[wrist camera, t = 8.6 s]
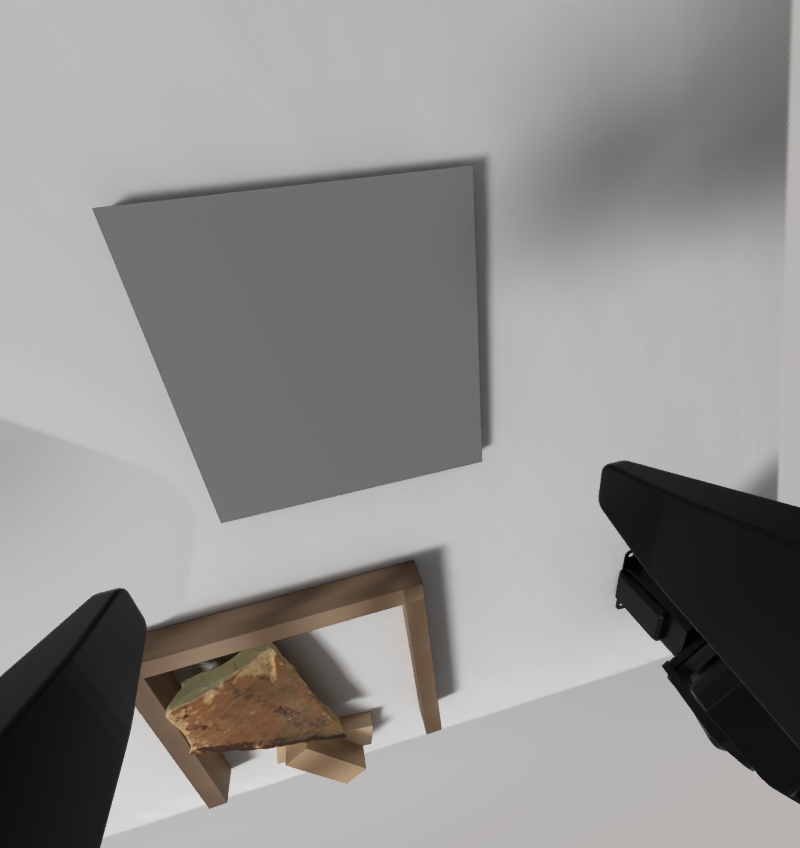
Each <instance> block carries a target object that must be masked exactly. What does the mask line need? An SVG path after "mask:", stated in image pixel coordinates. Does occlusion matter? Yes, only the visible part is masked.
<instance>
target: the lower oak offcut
mask: <svg viewBox="0 0 800 848" xmlns="http://www.w3.org/2000/svg"><path fill="white" fill-rule="evenodd" d="M339 721H340V725H341V726H342V729H343V731H344V733H345V735H346V737H345V738H342V739H345V740H347V741H350V742H353V743H356V744H358V745H361V746H363V745H367V744H371V740H372V731H373V722H372V716H371V712H366V713H361V714H356V715H351V716H346V717H341V718H339ZM277 759H278V763H282V762H286V746H282V747H277Z"/></svg>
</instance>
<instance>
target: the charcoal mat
mask: <svg viewBox="0 0 800 848" xmlns="http://www.w3.org/2000/svg"><path fill="white" fill-rule="evenodd" d="M92 209H93V211H94V214H95V216H96V219H97V221H98V224H99V226H100V228H101V231H102V233H103V236H104V238H105V241H106V243H107V246H108V248H109V250H110V253H111V255H112V258H113V260H114V263H115V265H116V268H117V270H118V272H119V275H120V277H121V280H122V282H123V285H124V287H125V289H126V292H127V294H128V297H129V299H130V302H131V304H132V307H133V309H134V311H135V314H136V316H137V319H138V321H139V324H140V326H141V329H142V331H143V333H144V336H145V338H146V341H147V343H148V346H149V348H150V351H151V353H152V355H153V358H154V360H155V363H156V365H157V368H158V370H159V373H160V375H161V377H162V380H163V382H164V385H165V387H166V390H167V392H168V395H169V397H170V399H171V402H172V404H173V407H174V409H175V412H176V414H177V416H178V419H179V421H180V424H181V426H182V429H183V431H184V434H185V436H186V438H187V441H188V443H189V446H190V448H191V451H192V453H193V456H194V458H195V460H196V463H197V465H198V468H199V470H200V473H201V475H202V478H203V480H204V482H205V485H206V487H207V490H208V492H209V495H210V497H211V500H212V502H213V504H214V507H215V509H216V512H217V514H218V517H219V519H220V522H221V523H224V522H228V521H232V520H237V519H241V518H245V517H249V516H253V515H258V514H262V513H266V512H270V511H275V510H279V509H283V508H287V507H292V506H296V505H300V504H304V503H308V502H313V501H317V500H321V499H325V498H330V497H334V496H338V495H342V494H347V493H351V492H355V491H359V490H363V489H368V488H372V487H376V486H380V485H385V484H389V483H393V482H397V481H402V480H406V479H410V478H414V477H418V476H423V475H427V474H431V473H435V472H440V471H444V470H448V469H452V468H456V467H461V466H465V465H469V464H473V463H478V462H482V443H481V410H480V377H479V344H478V311H477V278H476V245H475V212H474V179H473V165H470V166H461V167H452V168H443V169H434V170H426V171H417V172H408V173H399V174H390V175H381V176H373V177H364V178H355V179H346V180H337V181H328V182H319V183H311V184H302V185H293V186H284V187H275V188H266V189H258V190H249V191H240V192H231V193H222V194H213V195H205V196H196V197H187V198H178V199H169V200H160V201H152V202H143V203H134V204H125V205H116V206H107V207H98V208H92Z"/></svg>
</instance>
